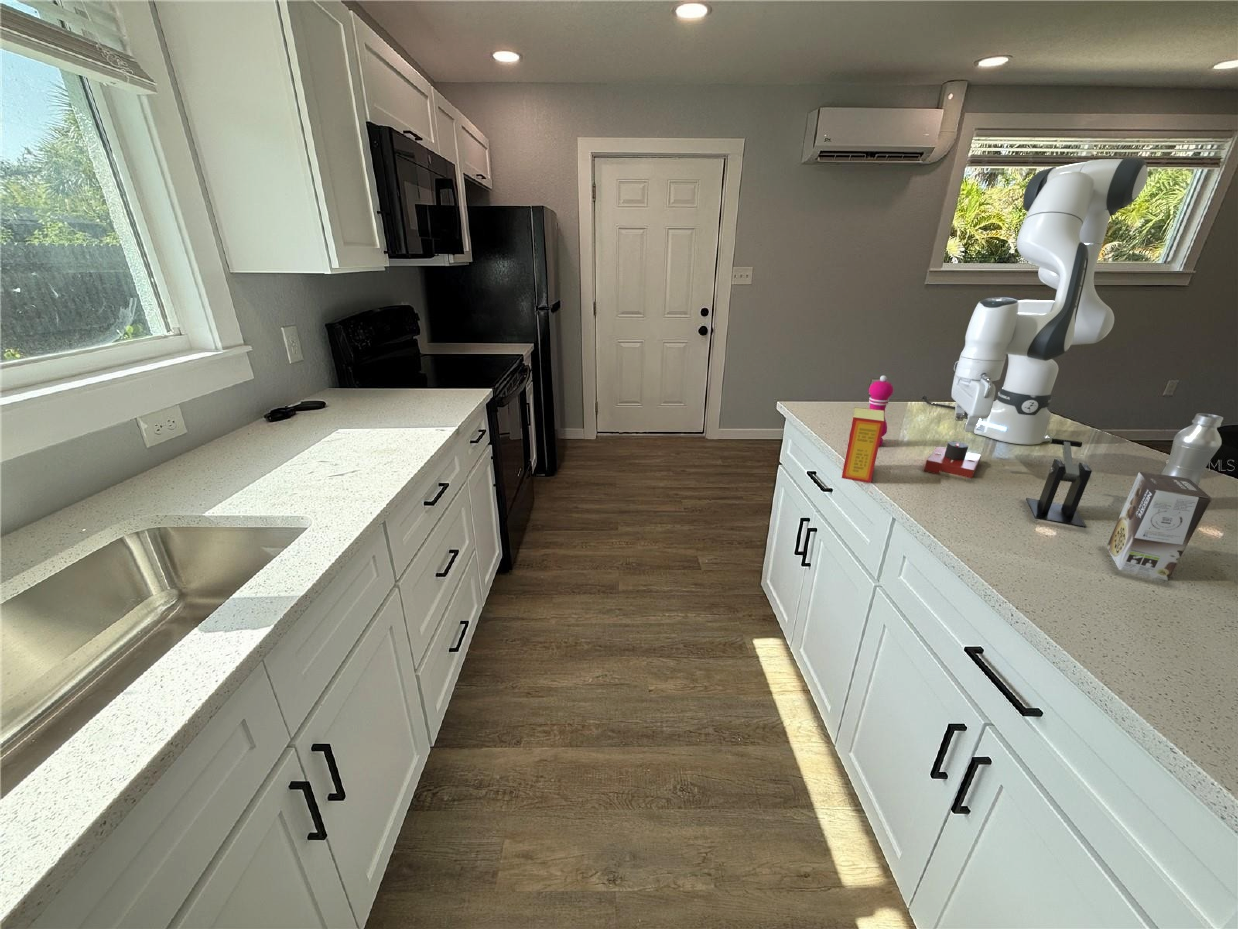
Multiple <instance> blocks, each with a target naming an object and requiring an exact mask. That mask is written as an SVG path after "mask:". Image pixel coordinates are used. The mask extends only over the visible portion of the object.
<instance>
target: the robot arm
mask: <svg viewBox="0 0 1238 929" xmlns="http://www.w3.org/2000/svg"><path fill="white" fill-rule="evenodd" d="M1148 176H1149V172H1148V163H1147V162H1146V161H1145V159H1144V158H1142V157H1134V156H1133V157H1132V156H1130V157H1129V156H1127V157H1124V158H1105V159H1094V160H1088V161H1084V162H1076V163H1072V164H1067V165H1061V166H1058V167H1057V166H1051V167H1048V168H1044V169H1042V170H1038V172H1036V173H1035V174H1034V175H1032V177H1030V179H1029V181H1028V182H1027V184H1026V187H1025V189H1024V191H1023V198H1022V205H1023V209H1024V210H1025V211H1026V212H1027V213H1026V215H1025V218H1024V219H1023V222H1022V224H1021V226H1020V229H1019V231H1018V234H1017V238H1016V242H1015V244H1016V250H1017V252H1018V253H1019V255H1020V257H1022V259H1024V260H1025V261H1027V262H1029V263H1030V264H1031V265H1034V266H1037V267H1039V268H1038V273H1037V274H1038V278H1039V280H1040V282H1042V283H1043V284H1045V285H1046V286H1048V287H1050V288H1053V289H1055V290H1056V294H1055V298H1054V300H1040V299H1039V300H1037V299H1021V300H1018V299H1015V298H1012V297H1007V296H1006V297H1005V296H996V297H988V298H984V299H982V300H980V301H978V303H977V304H976V307H975V308H974V310H973V312H972V314H971V317H970V320H969V323H968V326H967V329H966V332H965V336H964V341H965V343H964V346H963V350H962V351H961V352H960V355H959V359H958V360H957V361H956V362H955V363H954V366H953V371H954V372H955V373H954V376H953V381H952V386H951V399H953V401H955V406H952V405H948V404H941V403H936V404H935V402H931V401H929V400H928V399H927V396H926V395H924V396H922V397H921V399H922V400H923V401H924V402H925V403H926V404H927V405H930V406H935V407H941V408H946V409H952V410H954V411H955V413H954V416H953V419H954V420H955V421H956V422H963V421H964V420H965V418H967V420H966V422H964V425H963V430H964V431H965V432H966V433H974V434H975V435H979V436H983V437H987V438H990V439H992V440H996V441H1000V442H1004V443H1008V444H1009V443H1010V444H1016V445H1028V446H1029V445H1031V446H1033V445H1039V444H1042V443H1045V442H1046V443H1047V442H1050V440H1051V436H1049V435H1047V433H1048V429H1049V426H1050V422H1051V417H1052V413H1051V411H1050V410H1048V407H1049V406H1050V403H1051V402H1052V397H1053V394H1052V391H1053V388H1054V385H1055V383H1056V379H1057V376H1058V374H1059V365H1058V363H1057V362H1056V361H1055V360H1054V359H1055V358H1058V357H1060V356H1062V355H1064V354H1065V353H1067V352H1068V350H1070V347H1071V346H1077V345H1091V344H1092V345H1093V344H1096V343H1098V342H1100V341H1102V340H1103V339H1104V338H1106V337H1107V336H1108V334H1110V332H1111V331H1112V329H1113V327H1114V324H1115V315H1114V312H1113V310H1112V308H1111V307H1110V306H1108V305H1107V304H1106V303H1105V302H1104V301H1103V300H1102V299H1101V298H1100V296H1099V294H1098V293H1097V291H1096V288H1095V287H1096V286H1095V281H1094V280H1095V279H1094V277H1095V271H1096V268H1097V267H1096V266H1097V264H1098V259H1099V256H1100V253H1101V250H1102V247H1103V244H1104V242H1105V238H1106V234H1107V231H1108V226H1109V221H1110V217H1111V216H1115V215H1116V214H1117V212H1118V211H1121V210H1123V209H1125V208H1127V207H1128V206H1129V205H1131V204H1132V203H1133V202H1135V201H1136V200H1137V198H1138V197H1139V195H1140V194H1141V192H1142V191H1143V189H1144V188H1145V186H1146V184H1147V181H1148ZM1007 356H1008V358H1007ZM1006 359H1008V363H1007V364H1008V365H1007V370H1006V374H1005V379H1004V382H1003V385H1002V387H1000V389H999V391H998V393H997V396H996V391H997V390H996V385H995V384H994V383H993V382H995V381H999V380H1000V379H1001V376H1002V373H1003V370H1004V366H1005V362H1006ZM995 396H996V397H995ZM995 398H996V399H995ZM931 403H933V404H931Z"/></svg>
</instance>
